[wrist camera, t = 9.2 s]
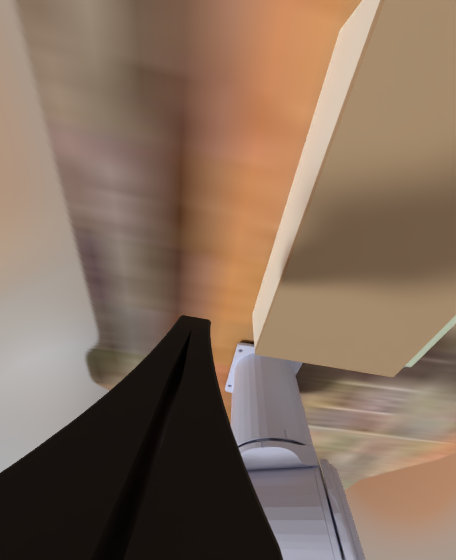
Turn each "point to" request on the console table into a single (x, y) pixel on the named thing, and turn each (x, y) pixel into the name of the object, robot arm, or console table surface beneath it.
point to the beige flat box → (371, 200)
